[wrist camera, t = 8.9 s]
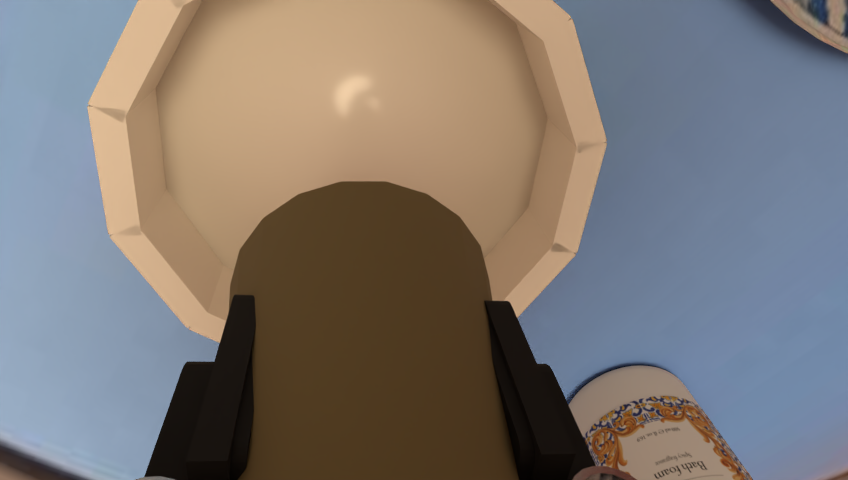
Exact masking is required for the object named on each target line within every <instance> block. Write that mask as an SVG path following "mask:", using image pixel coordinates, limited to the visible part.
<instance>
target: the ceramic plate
mask: <svg viewBox="0 0 848 480" xmlns="http://www.w3.org/2000/svg"><path fill="white" fill-rule="evenodd" d="M770 1H771V2H772V3H773V4H774V5H775V6H776V7H777V8H779V9H780V10H781V11H782V12H783V13H784V14H785V15H786V16H787V17H788V18H789V19H790V20H792V21H793V22H794V23H796V24H797V25H798V26H800V27H801V28H803V29H804V30H806V31H807V32H809V33H810V34H812V35H813V36H814V37H816V38H817V39H819V40H821V41H823V42H825V43H827V44H829V45H831V46H833V47H835V48H837V49H839V50H841V51H843V52H845V53H848V0H770Z"/></svg>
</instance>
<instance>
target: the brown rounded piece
mask: <svg viewBox="0 0 848 480" xmlns="http://www.w3.org/2000/svg"><path fill="white" fill-rule="evenodd" d="M235 294H237V295H253V296H254V298H255V314H256V328H255V335H254V341H253V347H252V367H253V397H254V415H253V422H252V429H251V436H250V444H249V451H248V458H247V466H246V469H245V471H244V472H243V473H242V475H241V476H240V477H239V478H238V479H237V480H519V477H518V473H517V467H516V462H515V457H514V452H513V448H512V444H511V439H510V435H509V431H508V426H507V422H506V418H505V413H504V409H503V405H502V400H501V396H500V392H499V387H498V383H497V379H496V374H495V370H494V366H493V361H492V352H491V342H490V331H489V321H488V314H487V311H486V307H485V302H484V301H485V300H488V301H493V300H492V294H491V288H490V282H489V277H488V273H487V269H486V265H485V261H484V257H483V253H482V249H481V246H480V244H479V243H478V241H477V240H476V239H475V237H474V236H473V234H472V233H471V232H470V230H469V229H468V227H467V226H466V225H465V223H464V222H463V220H462V219H461V218H460V216H458V215H457V214H455V213H454V212H453V211H451V210H450V209H448V208H447V207H445V206H444V205H442V204H441V203H440V202H438V201H437V200H435V199H434V198H432V197H431V196H430V195H428V194H426V193H423V192H419V191H416V190H413V189H409V188H406V187H403V186H400V185H396V184H393V183H390V182H386V181H341V182H337V183H334V184H331V185H327V186H324V187H321V188H317V189H314V190H311V191H307V192H304V193H300V194H298V195H296V196H295V197H293V198H292V199H290V200H289V201H287V202H286V203H284V204H283V205H281V206H280V207H279V208H277V209H276V210H274V211H273V212H271V213H270V214H268V215H267V216H265V217H264V218H263V219H262V220H261V221H260V223H259V224H258V225H257V227H256V228H255V229H254V231H253V232H252V234H251V235H250V236H249V238H248V239H247V240H246V242H245V243H244V244H243V246H242V247H241V248H240V250H239V254H238V257H237V261H236V265H235V269H234V272H233V276H232V280H231V283H230V297H229V309H230V306H231V302H232V299H233V296H234V295H235Z"/></svg>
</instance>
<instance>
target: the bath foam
mask: <svg viewBox="0 0 848 480" xmlns="http://www.w3.org/2000/svg"><path fill="white" fill-rule="evenodd" d="M568 406H569V408H570V410H571V412H572V414H573V416H574V419H575V421H576V423H577V425H578V427H579V429H580V432H581V434H582V436H583V438H584V440H585V442H586V445H587V447H588V449H589V451H590V453H591V456H592V458H593V460H594V462H595V464H596V466H607V467H611V468H615V469H619V470H621V471H623V472H625V473H627V474H629V475H631V476H633V477H634V478H635V479H637V480H753V479H752V477H751V476H750V475H749V473H748V472H747V471H746V469H745V468H744V466H743V465H742V464H741V462H740V461H739V459H738V458H737V457H736V455H735V454H734V453H733V451H732V450H731V448H730V447H729V446H728V444H727V443H726V441H725V440H724V439H723V437H722V436H721V435H720V433H719V432H718V430H717V429H716V428H715V426H714V425H713V423H712V422H711V421H710V419H709V418H708V417H707V415H706V414H705V412H704V411H703V410H702V409H701V407H700V406H699V405H698V403H697V402H696V401H695V399H694V398H693V396H692V395H691V394H690V392H689V391H688V389H687V388H686V387H685V385H684V384H683V383H682V382H681V381H680V380H679V379H678V378H677V377H676V376H674V375H673V374H671V373H670V372H668V371H666V370H663V369H660V368H657V367H652V366H628V367H623V368H619V369H615V370H612V371H610V372H607V373H605V374H603V375H601V376H599V377H597V378H595V379H594V380H592V381H591V382H589V383H588V384H587V385H585V386H584V387H583V388H582V389H581V390H580V391H579V392H578V393H577V394H576V395H575V396H574V398H573V399H572V400H571V402H570V403H569V405H568Z"/></svg>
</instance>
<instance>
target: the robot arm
mask: <svg viewBox="0 0 848 480" xmlns="http://www.w3.org/2000/svg"><path fill="white" fill-rule="evenodd" d="M484 302H485V307H486V311H487V314H488V321H489V331H490V342H491V352H492V361H493V366H494V370H495V374H496V379H497V383H498V387H499V392H500V396H501V400H502V405H503V409H504V413H505V418H506V422H507V426H508V431H509V435H510V439H511V444H512V448H513V452H514V457H515V462H516V467H517V473H518V477H519V480H637V479H635V478H634V477H633V476H631V475H629V474H627V473H625V472H623V471H621V470H619V469H615V468H611V467H607V466H596V464H595V462H594V460H593V458H592V456H591V453H590V451H589V449H588V447H587V445H586V442H585V440H584V438H583V436H582V434H581V432H580V429H579V427H578V425H577V423H576V421H575V419H574V416H573V414H572V412H571V410H570V408H569V406H568V403H567V401H566V399H565V397H564V395H563V392H562V390H561V388H560V386H559V384H558V382H557V379H556V377H555V375H554V373H553V371H552V369H551V368H550V366H548V365H547V364H537V363H536V361H535V358H534V356H533V354H532V351H531V349H530V347H529V344H528V342H527V340H526V338H525V335H524V333H523V331H522V328H521V326H520V324H519V321H518V319H517V317H516V314H515V312H514V310H513V307H512V305H511V303H510V302H509V301H488V300H485V301H484ZM255 328H256V314H255V298H254V296H253V295H237V294H235V295H234V296H233V299H232V302H231V306H230V309H229V313H228V316H227V320H226V323H225V327H224V330H223V334H222V337H221V341H220V344H219V348H218V351H217V355H216V358H215V362H187V363H186V364H185V365H184V367H183V369H182V372H181V374H180V377H179V380H178V383H177V386H176V389H175V391H174V394H173V397H172V400H171V403H170V406H169V409H168V411H167V414H166V417H165V420H164V423H163V426H162V428H161V431H160V434H159V437H158V440H157V443H156V445H155V448H154V451H153V454H152V457H151V460H150V462H149V465H148V468H147V471H146V474H145V477H143V478H139V479H136V480H237V479H238V478H239V477H240V476H241V475H242V473H243V472H244V471H245V469H246V466H247V458H248V451H249V444H250V436H251V429H252V422H253V415H254V397H253V367H252V347H253V341H254V335H255Z"/></svg>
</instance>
